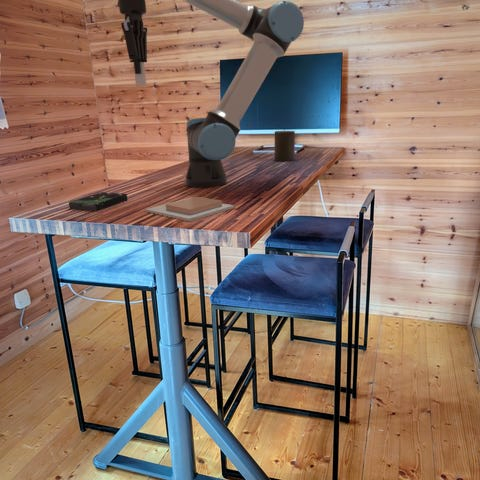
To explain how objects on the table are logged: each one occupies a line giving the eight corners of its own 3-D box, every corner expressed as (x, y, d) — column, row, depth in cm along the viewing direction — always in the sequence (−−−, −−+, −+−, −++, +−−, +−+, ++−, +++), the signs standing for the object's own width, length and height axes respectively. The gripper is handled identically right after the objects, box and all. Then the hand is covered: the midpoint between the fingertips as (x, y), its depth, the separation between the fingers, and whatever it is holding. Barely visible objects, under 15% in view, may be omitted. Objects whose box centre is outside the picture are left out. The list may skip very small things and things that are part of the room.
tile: (197, 196, 130) (221, 200, 124) (197, 201, 131) (222, 206, 124) (165, 204, 122) (190, 209, 115) (166, 210, 122) (191, 215, 116)
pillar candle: (284, 162, 208) (284, 129, 204) (270, 160, 216) (270, 128, 211) (298, 160, 214) (299, 128, 210) (284, 158, 221) (284, 127, 217)
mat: (190, 200, 137) (189, 197, 136) (233, 208, 125) (233, 205, 125) (145, 211, 124) (145, 209, 124) (189, 221, 113) (189, 218, 113)
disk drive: (101, 200, 144) (69, 210, 131) (100, 192, 143) (67, 201, 130) (128, 202, 140) (97, 212, 127) (127, 193, 139) (95, 203, 126)
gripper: (129, 3, 133) (138, 86, 141) (108, -5, 121) (119, 86, 128) (152, 1, 132) (160, 85, 139) (134, -8, 120) (144, 84, 127)
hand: (141, 85), depth 134 cm, fingers closed
